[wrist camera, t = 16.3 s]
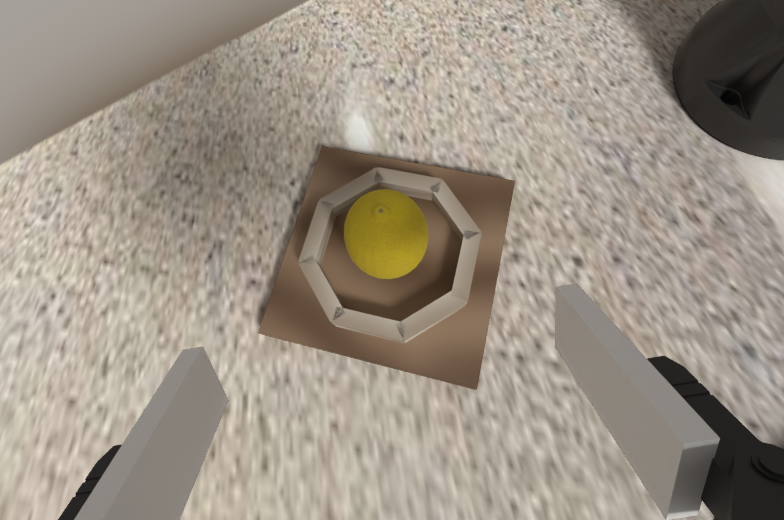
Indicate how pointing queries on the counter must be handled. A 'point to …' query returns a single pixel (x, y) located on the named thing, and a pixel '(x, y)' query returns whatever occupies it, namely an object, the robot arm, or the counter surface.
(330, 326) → the lemon holder
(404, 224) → the lemon
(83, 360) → the counter surface
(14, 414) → the counter surface
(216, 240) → the counter surface
